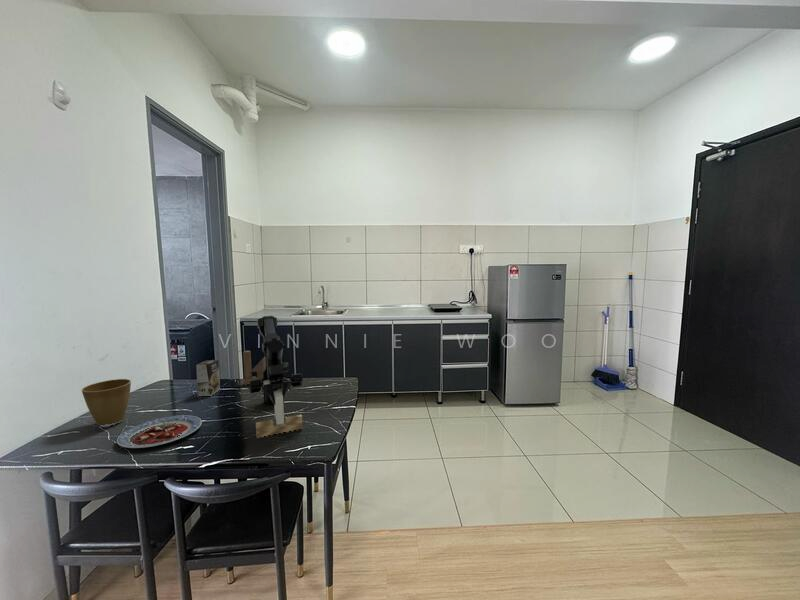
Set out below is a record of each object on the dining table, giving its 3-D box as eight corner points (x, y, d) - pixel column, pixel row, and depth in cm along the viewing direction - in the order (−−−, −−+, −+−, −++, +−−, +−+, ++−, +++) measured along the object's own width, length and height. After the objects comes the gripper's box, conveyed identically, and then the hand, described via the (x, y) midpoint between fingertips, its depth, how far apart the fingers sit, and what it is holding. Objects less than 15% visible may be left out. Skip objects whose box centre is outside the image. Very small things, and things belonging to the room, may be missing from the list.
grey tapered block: (274, 416, 131) (273, 391, 130) (281, 415, 132) (280, 390, 131) (276, 424, 124) (275, 397, 123) (284, 423, 125) (282, 396, 124)
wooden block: (264, 384, 184) (262, 351, 183) (243, 385, 183) (241, 352, 182) (266, 382, 188) (264, 349, 187) (246, 383, 187) (244, 350, 186)
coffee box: (210, 397, 167) (208, 364, 166) (197, 397, 167) (195, 364, 166) (220, 390, 176) (219, 359, 175) (208, 390, 176) (206, 359, 175)
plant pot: (99, 418, 144) (95, 380, 143) (140, 414, 148) (137, 377, 146) (75, 434, 130) (71, 392, 128) (122, 429, 133) (118, 388, 132)
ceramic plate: (184, 449, 118) (183, 440, 118) (98, 457, 114) (98, 448, 113) (212, 418, 143) (211, 411, 143) (143, 423, 139) (142, 416, 139)
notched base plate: (256, 438, 124) (255, 424, 124) (256, 435, 126) (255, 422, 126) (302, 429, 131) (302, 416, 130) (301, 427, 133) (301, 414, 132)
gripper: (248, 358, 126) (250, 398, 117) (301, 352, 134) (307, 389, 125) (248, 374, 134) (251, 412, 125) (298, 367, 141) (304, 403, 132)
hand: (278, 403), depth 126 cm, fingers closed on grey tapered block, 2 cm apart
